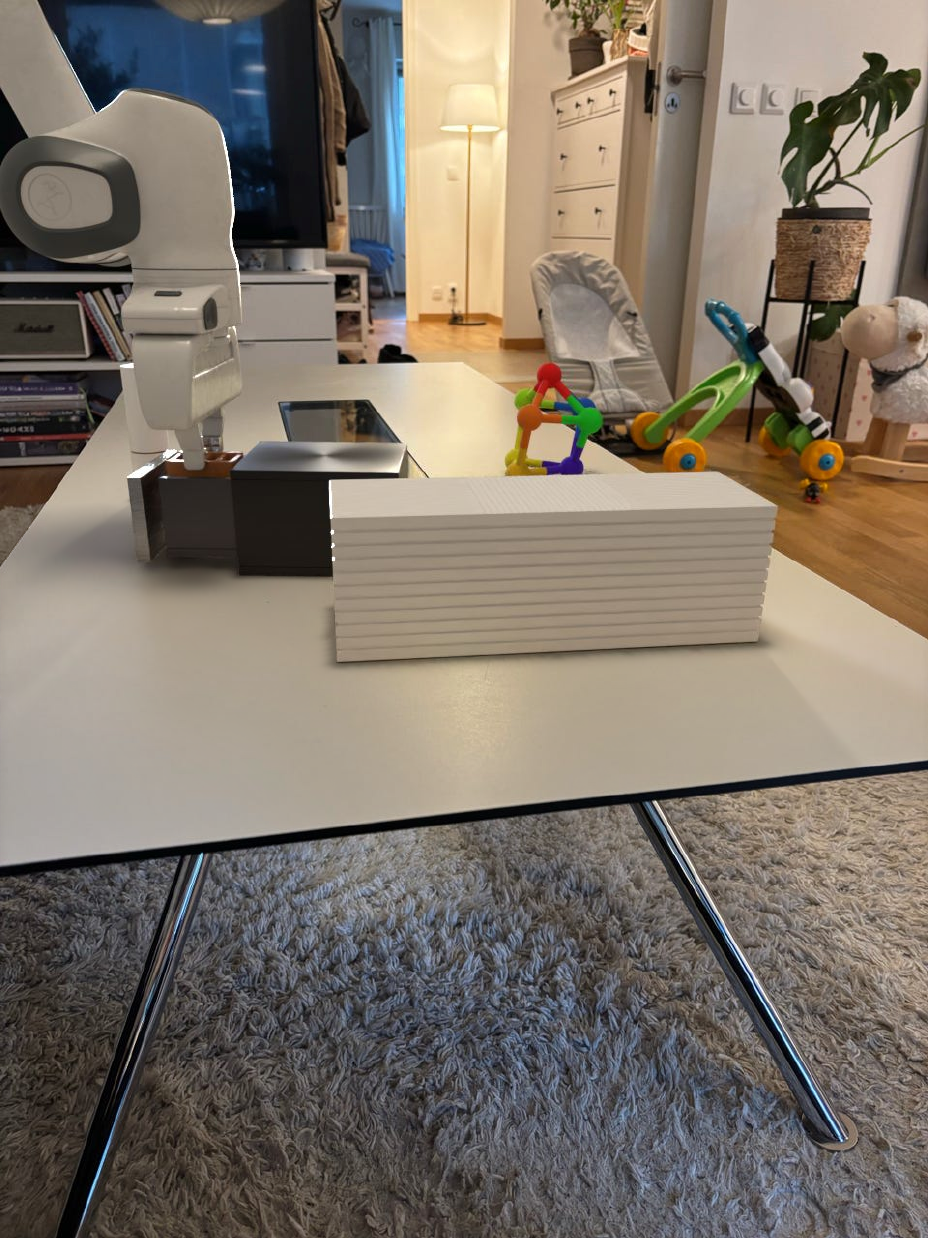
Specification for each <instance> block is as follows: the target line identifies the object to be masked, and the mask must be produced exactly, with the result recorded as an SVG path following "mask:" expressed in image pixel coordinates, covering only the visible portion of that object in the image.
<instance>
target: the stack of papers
mask: <svg viewBox="0 0 928 1238" xmlns="http://www.w3.org/2000/svg"><path fill="white" fill-rule="evenodd" d="M329 490H330V514H331V538H332V561H333V576H332V580H333V581H332V583H333V602H334V603H333V605H334V624H335V626H334V627H335V650H336V651H335V652H336V663H340V662H341V663H342V662H343V663H344V662H362V661H364V662H365V661H382V660H383V661H385V660H403V659H404V660H405V659H422V658H423V659H424V658H444V657H465V656H481V655H482V656H484V655H485V656H487V655H489V656H490V655H506V654H507V655H508V654H527V653H549V652H550V653H551V652H567V651H569V652H570V651H589V650H590V651H591V650H609V649H626V648H628V649H629V648H631V649H632V648H648V647H649V648H650V647H651V648H652V647H667V646H691V645H692V646H693V645H712V644H729V643H731V644H732V643H749V642H751V643H752V642H759V637H760V630H759V629H760V628H761V624H762V619H761V618H760V617H762V616H763V610H764V608H763V606H762V605H764V603H765V594H763V593H766V590H767V583H766V582H765V581H768V575H769V570H767V569H769V568H770V564H771V558H770V557H771V555H772V549H773V545H771V544H773V543H774V537H775V536H774V535H775V533H774V532H772V531H775V530H776V523H777V521H776V520H775V519H774V518H777V517H778V510H779V506H778V505H777V504H775V503H773V502H772V501H770V500H768V499H766V498H765V497H763V496H762V495H760V494H758V493H757V492H755V491H753V490H751V489H749V488H747V487H746V486H744V485H743V484H740V483H739V482H737V481H736V480H734V479H732V478H730V477H728V475H727V476H726V475H725V474H723V473H721V472H720V471H692V472H691V471H689V472H688V471H687V472H686V471H685V472H684V471H682V472H641V473H640V472H637V473H595V474H594V473H591V474H589V473H588V474H582V475H561V474H553V475H545V476H544V475H539V476H506V475H499V476H498V475H497V476H496V475H495V476H494V475H493V476H451V477H450V476H449V477H446V476H445V477H407V478H396V479H349V480H329Z"/></svg>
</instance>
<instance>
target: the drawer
mask: <svg viewBox="0 0 928 1238" xmlns="http://www.w3.org/2000/svg"><path fill="white" fill-rule="evenodd" d="M178 452H179V450H175V449H173V450H172V449H169V450H166V451H165V452H163V453H162V454H160V455H159V456H157V457H156V458H155V459H153V460H152V461H150V462H149V463H147V464H146V465H144V466H143V467H142V468H140V469H139V470H137V471H136V472H134V473H133V472H132V474H130V475H128V476H127V477H126V480H127V488H128V497H129V503H130V504H129V505H130V513H131V519H132V528H133V534H134V542H135V543H134V544H135V550H136V551H135V552H136V558H137V562H138V563H151V562H152V561H153V560H155V558H157V556H158V555H159V554H160V553H161V552H162V551H163V550H164V549H165V548H166V556H167V557H168V558H233V559H235V558H237V548H236V536H235V524H234V513H233V501H232V489H231V478H230V477H184V476H168V475H167V467H166V461H167V460H170V459H171V458H173V457H174V456H175V455H177V454H178ZM245 455H246V454H243V457H244V456H245Z"/></svg>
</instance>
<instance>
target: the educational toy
mask: <svg viewBox="0 0 928 1238" xmlns="http://www.w3.org/2000/svg"><path fill="white" fill-rule="evenodd" d="M562 377H563V373H562V370H561V368H560V366H558V364H556V363H554V362H545V363H542V364H541V365H540V366H539V368H538V369H537V371H536V380H537V382H536V383H535V384H534V385H533V386H532V388H531V389H530V388H522V389H520V390H518V391H517V392H516V393H515V396H514V401H513V403H514V406H515V409H517V410H518V411H517V415H516V421H517V430H516V437H515V442H514V448H512V449H510V450H509V451H508V452H507V453H506V454H505V456H504V464H505V467H506V470H505V476H539V475H544V476H545V475H583V473H584V467H585V466H584V463H583V462H582V460H581V456H582V453H583V451H584V448H585V447H586V443H587V441H588V439H589V436H590V435H591V434H595V433H597V432H599V431H600V429H601V427H602V426H603V422H604V417H603V415H602V413H601V411H599V410H598V409H597V406H596V404H595V402H594V401H593V400H592V399H591V398H588V397H580V398H578V397H577V396H576V394H574V393H573V392H572V391H571V390H570V389H569V388H568V387H567V386H566V384H564V383H563V381H562ZM548 389H555V390H556V392H558V394H559V395H560V396H561V397H562V398H563V399H564V401H566V402H562V401H555V400H550V399H549V400H548V399H544V398H545V396H546V394H547V392H548ZM540 408H543V409H549V410H555V411H561V412H568V413H572V415H570V414H552V413H551V414H549V413H543V411H542V410H541V409H540ZM542 424H557V425H558V424H559V425H575V430H574V436H573V440H572V444H571V445H572V446H571V449H570V454H569V456H566V457H564V458H563V459H562V460H561V461H560V462H557V461H550V460H543V459H536V458H530V457H529V456H528V455H527V453H528V450H529V444H530V440H531V435H532V432H534V431H536V430H537V429H539V428H540V427H541V425H542ZM528 457H529V458H528ZM529 467H530V468H529Z"/></svg>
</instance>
